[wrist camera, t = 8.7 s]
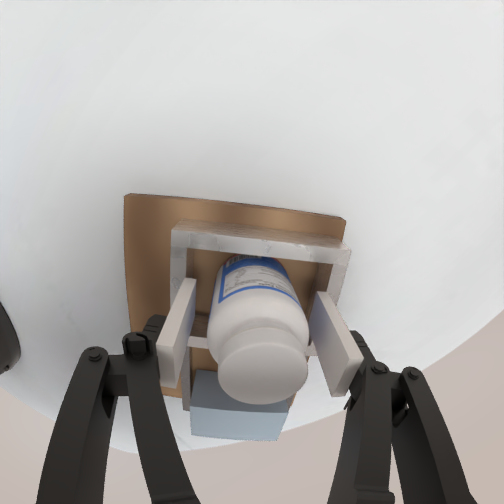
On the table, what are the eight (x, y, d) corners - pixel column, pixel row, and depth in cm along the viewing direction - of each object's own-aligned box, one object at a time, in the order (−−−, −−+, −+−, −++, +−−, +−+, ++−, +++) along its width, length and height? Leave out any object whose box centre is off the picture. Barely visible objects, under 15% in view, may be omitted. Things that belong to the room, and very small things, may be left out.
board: (144, 383, 25) (141, 390, 24) (130, 193, 19) (124, 195, 17) (289, 398, 26) (291, 406, 25) (340, 217, 20) (346, 221, 19)
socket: (179, 321, 21) (171, 343, 18) (182, 218, 18) (171, 229, 15) (311, 333, 22) (319, 356, 19) (336, 236, 19) (351, 250, 16)
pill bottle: (264, 323, 21) (278, 423, 12) (203, 295, 20) (181, 394, 11) (302, 268, 20) (347, 356, 11) (238, 234, 19) (235, 310, 10)
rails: (185, 398, 24) (183, 410, 23) (183, 333, 21) (179, 345, 20) (284, 406, 25) (285, 417, 24) (304, 344, 22) (308, 356, 21)
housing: (196, 400, 24) (191, 435, 20) (196, 369, 23) (189, 406, 19) (273, 406, 25) (276, 440, 21) (282, 376, 23) (288, 412, 19)
